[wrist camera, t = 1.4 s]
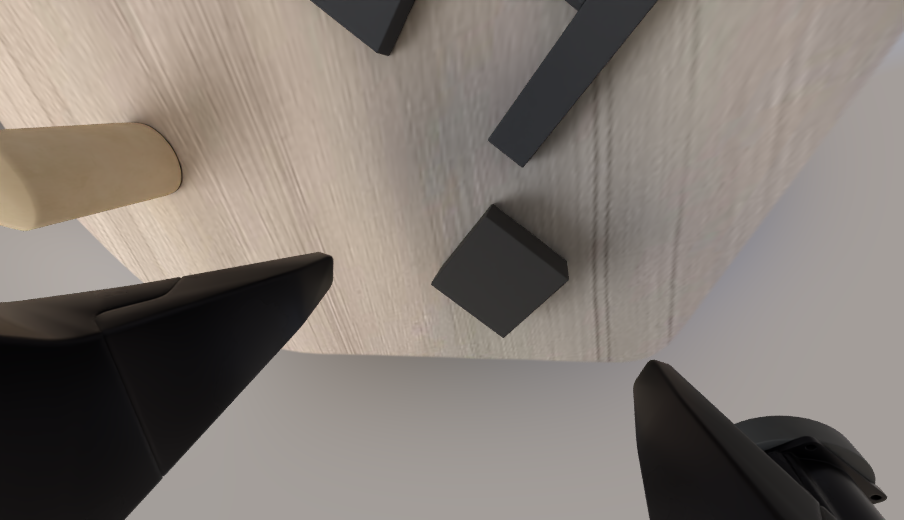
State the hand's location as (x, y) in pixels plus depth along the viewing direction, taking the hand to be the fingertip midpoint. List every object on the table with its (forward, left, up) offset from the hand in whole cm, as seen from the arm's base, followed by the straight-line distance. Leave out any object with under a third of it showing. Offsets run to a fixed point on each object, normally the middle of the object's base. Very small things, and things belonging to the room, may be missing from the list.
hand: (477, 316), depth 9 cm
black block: (-2, +4, -12) cm, 13 cm away
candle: (+24, +15, -13) cm, 31 cm away
